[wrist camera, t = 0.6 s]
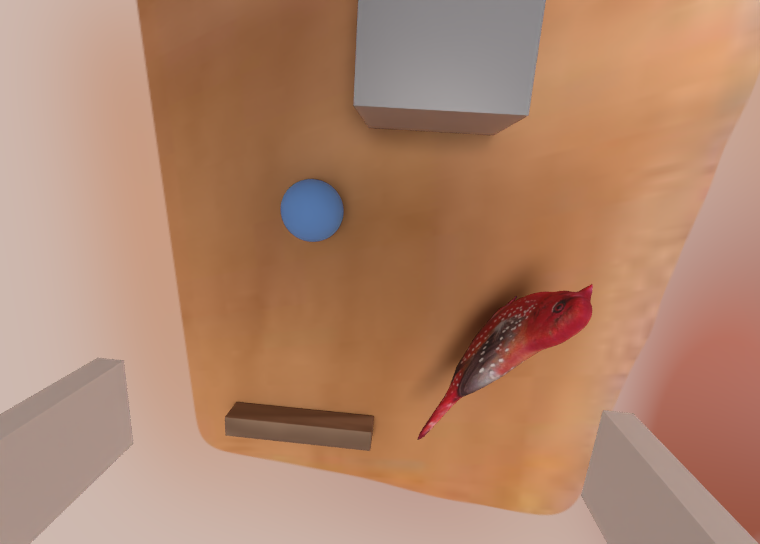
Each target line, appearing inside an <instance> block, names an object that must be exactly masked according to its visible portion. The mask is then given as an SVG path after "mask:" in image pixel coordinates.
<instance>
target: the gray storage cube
mask: <svg viewBox="0 0 760 544" xmlns="http://www.w3.org/2000/svg"><path fill="white" fill-rule="evenodd" d="M545 2H546V0H358V16H357V38H356V60H355V83H354V105H353V106H354V107H355V109H356V110H357V111H358V113H359V114H360V116H361V117H362V119H363V120H364V122H365V123H366V125H367V126H368V128H382V129H398V130H415V131H432V132H449V133H465V134H482V135H495V134H497V133H498V132H500V131H502V130H504V129H505V128H507V127H509V126H511V125H512V124H514V123H516V122H518V121H519V120H521V119H523V118H525V117H526V116H528V115H529V108H530V102H531V95H532V88H533V82H534V75H535V68H536V62H537V55H538V48H539V42H540V35H541V28H542V22H543V15H544V8H545Z"/></svg>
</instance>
